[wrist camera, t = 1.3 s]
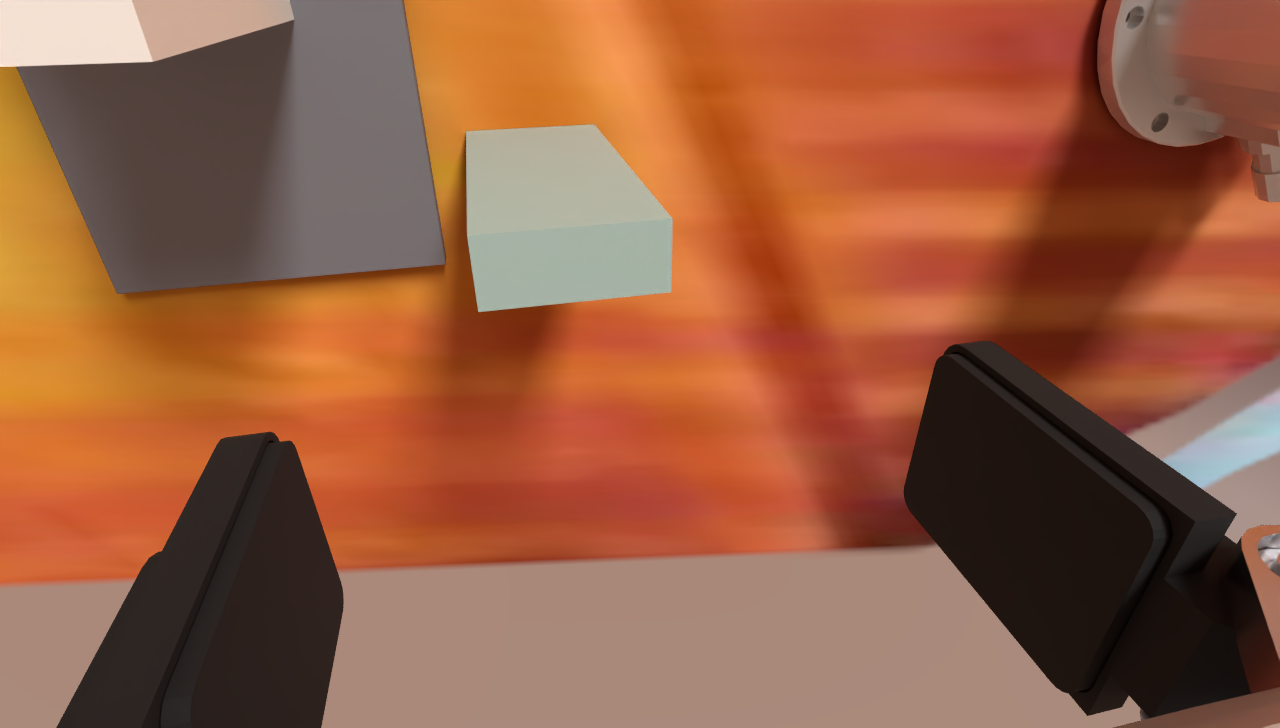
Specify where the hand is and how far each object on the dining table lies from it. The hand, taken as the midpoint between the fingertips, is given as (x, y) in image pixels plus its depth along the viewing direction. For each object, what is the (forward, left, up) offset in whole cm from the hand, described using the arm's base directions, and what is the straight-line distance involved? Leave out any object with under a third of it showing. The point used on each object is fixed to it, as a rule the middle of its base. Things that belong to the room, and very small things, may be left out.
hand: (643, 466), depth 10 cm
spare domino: (0, 0, -20) cm, 20 cm away
